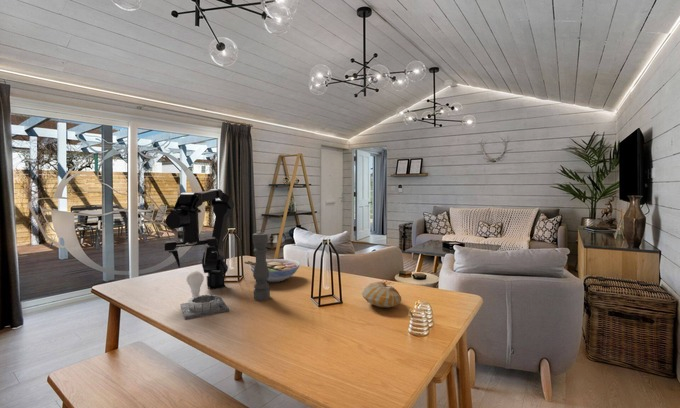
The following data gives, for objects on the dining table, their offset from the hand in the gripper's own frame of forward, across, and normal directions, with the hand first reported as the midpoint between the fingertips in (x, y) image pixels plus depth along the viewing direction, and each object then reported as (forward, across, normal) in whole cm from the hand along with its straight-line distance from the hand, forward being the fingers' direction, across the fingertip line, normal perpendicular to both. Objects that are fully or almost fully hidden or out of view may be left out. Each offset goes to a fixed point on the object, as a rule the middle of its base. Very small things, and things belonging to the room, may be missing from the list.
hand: (192, 265), depth 132 cm
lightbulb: (+13, -1, +1) cm, 13 cm away
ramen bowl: (+13, -36, -8) cm, 39 cm away
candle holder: (+13, -23, +13) cm, 30 cm away
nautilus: (+13, -60, +43) cm, 75 cm away
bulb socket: (+13, -2, +14) cm, 19 cm away
